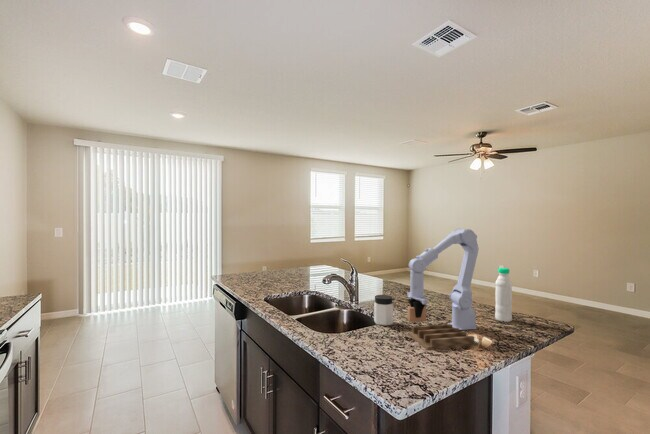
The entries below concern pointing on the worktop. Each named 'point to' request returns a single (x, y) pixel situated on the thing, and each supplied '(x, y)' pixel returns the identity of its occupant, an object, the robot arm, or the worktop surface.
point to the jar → (383, 310)
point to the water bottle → (503, 296)
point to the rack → (441, 336)
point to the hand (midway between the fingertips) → (416, 316)
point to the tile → (412, 317)
